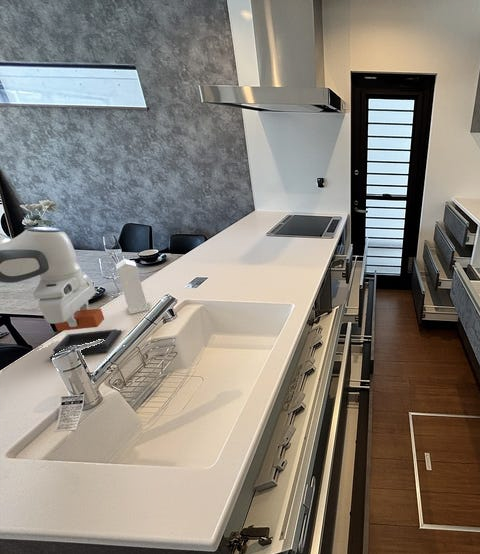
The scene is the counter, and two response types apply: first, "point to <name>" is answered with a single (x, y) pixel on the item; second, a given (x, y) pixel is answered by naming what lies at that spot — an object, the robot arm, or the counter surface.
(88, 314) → the top pad
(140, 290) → the milk
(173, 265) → the counter surface
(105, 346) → the base pad
